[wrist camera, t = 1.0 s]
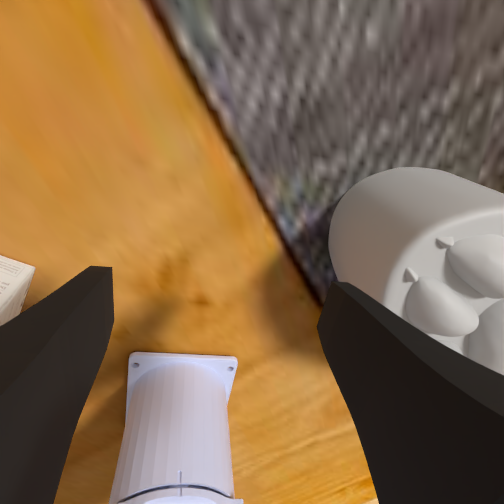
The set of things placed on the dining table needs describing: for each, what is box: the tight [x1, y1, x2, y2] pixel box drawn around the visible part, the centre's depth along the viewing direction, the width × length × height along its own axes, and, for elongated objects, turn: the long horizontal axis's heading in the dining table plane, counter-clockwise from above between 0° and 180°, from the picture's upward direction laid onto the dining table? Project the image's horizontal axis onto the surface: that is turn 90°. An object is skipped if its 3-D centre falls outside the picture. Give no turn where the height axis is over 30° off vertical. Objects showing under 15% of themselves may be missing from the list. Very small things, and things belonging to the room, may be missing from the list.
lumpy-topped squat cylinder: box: [328, 167, 504, 375], centre depth 19 cm, size 10×13×9 cm
